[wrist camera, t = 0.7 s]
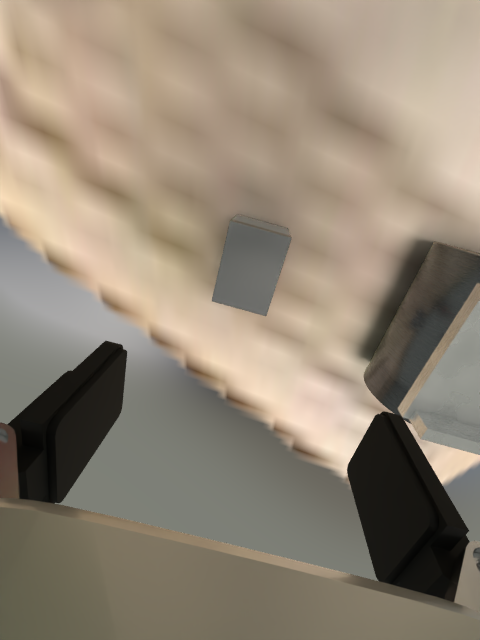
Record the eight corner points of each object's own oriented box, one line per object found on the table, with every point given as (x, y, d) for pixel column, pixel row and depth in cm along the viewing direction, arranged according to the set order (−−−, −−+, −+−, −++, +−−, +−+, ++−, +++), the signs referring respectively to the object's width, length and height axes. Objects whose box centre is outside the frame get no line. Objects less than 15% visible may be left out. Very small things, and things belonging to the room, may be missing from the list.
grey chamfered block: (238, 214, 29) (230, 220, 23) (287, 228, 29) (291, 238, 23) (222, 281, 32) (211, 301, 26) (267, 293, 32) (266, 316, 26)
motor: (414, 234, 28) (520, 270, 16) (515, 263, 28) (693, 320, 16) (352, 357, 34) (397, 449, 22) (436, 380, 34) (525, 484, 22)
